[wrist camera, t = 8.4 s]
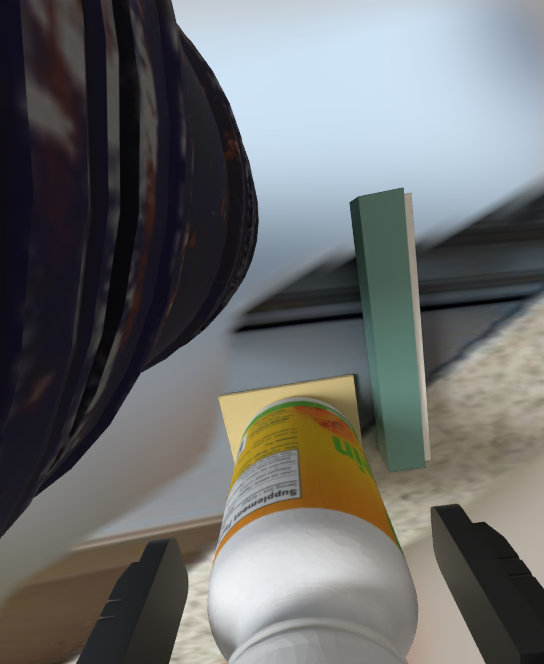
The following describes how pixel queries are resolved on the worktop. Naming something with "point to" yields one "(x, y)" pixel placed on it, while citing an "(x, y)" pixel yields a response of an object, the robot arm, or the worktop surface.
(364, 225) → the price rail
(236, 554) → the supplement bottle
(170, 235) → the dark blue cylinder
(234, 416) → the pad
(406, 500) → the worktop surface
